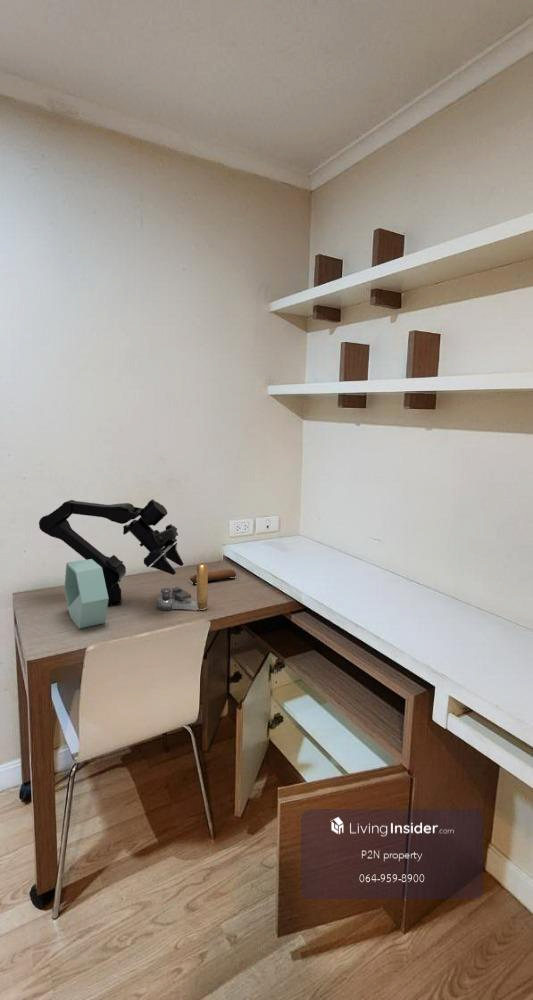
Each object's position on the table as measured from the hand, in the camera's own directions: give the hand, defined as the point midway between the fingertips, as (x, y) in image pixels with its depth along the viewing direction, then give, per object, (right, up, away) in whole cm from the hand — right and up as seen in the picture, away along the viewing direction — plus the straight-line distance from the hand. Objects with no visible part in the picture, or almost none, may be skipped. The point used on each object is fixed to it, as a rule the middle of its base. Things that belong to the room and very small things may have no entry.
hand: (178, 569), depth 167 cm
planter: (-27, -14, -9) cm, 32 cm away
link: (+1, -13, +2) cm, 13 cm away
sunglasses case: (+7, -9, +31) cm, 33 cm away
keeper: (0, -12, +6) cm, 14 cm away
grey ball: (-4, -10, +1) cm, 11 cm away
